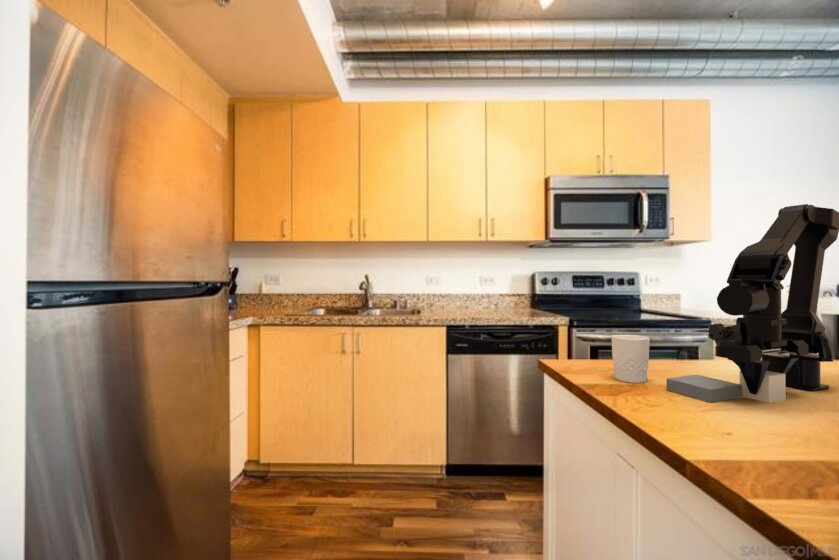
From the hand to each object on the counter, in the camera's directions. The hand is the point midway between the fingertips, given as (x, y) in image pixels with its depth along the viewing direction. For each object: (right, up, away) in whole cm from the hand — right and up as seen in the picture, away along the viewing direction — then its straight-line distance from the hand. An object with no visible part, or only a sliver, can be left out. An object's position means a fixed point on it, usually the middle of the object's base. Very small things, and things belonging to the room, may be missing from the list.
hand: (762, 392), depth 78 cm
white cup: (-18, -1, +15) cm, 23 cm away
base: (-10, -1, +3) cm, 10 cm away
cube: (0, -1, 0) cm, 1 cm away
